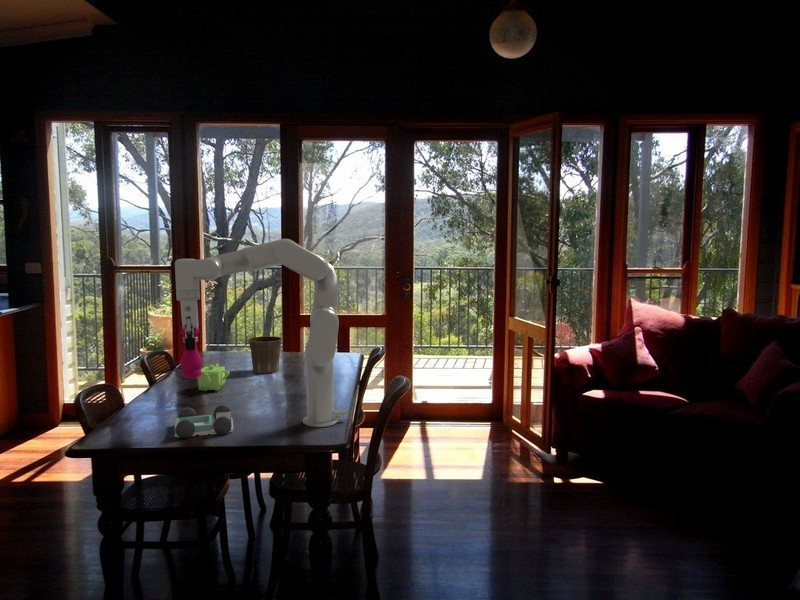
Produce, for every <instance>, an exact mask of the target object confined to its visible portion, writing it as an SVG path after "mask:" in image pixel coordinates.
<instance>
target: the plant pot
mask: <svg viewBox="0 0 800 600" xmlns="http://www.w3.org/2000/svg"><path fill="white" fill-rule="evenodd" d="M247 341H248V343H249V348H250V354H251V365H252V372H253V373H254V374H258V375H263V374H265V375H266V374H269V373H270V374H275V373H277V372H278V371H279V368H280V354H281V353H280V352H281V347H282V341H283V338H282V337H280V336H275V335H274V336H272V335H269V336H268V335H265V336H261V335H260V336H253V337H250V338H248V339H247ZM274 372H275V373H274Z"/></svg>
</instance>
